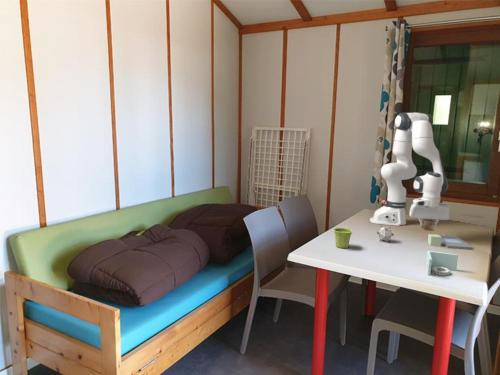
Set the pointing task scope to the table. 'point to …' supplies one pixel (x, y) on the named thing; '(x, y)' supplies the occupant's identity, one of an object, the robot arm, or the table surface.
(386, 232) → the white spiky ball
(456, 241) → the board
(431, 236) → the green cube
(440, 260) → the l-shaped corner panel
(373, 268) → the table surface
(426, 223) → the walnut cube
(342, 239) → the plant pot
